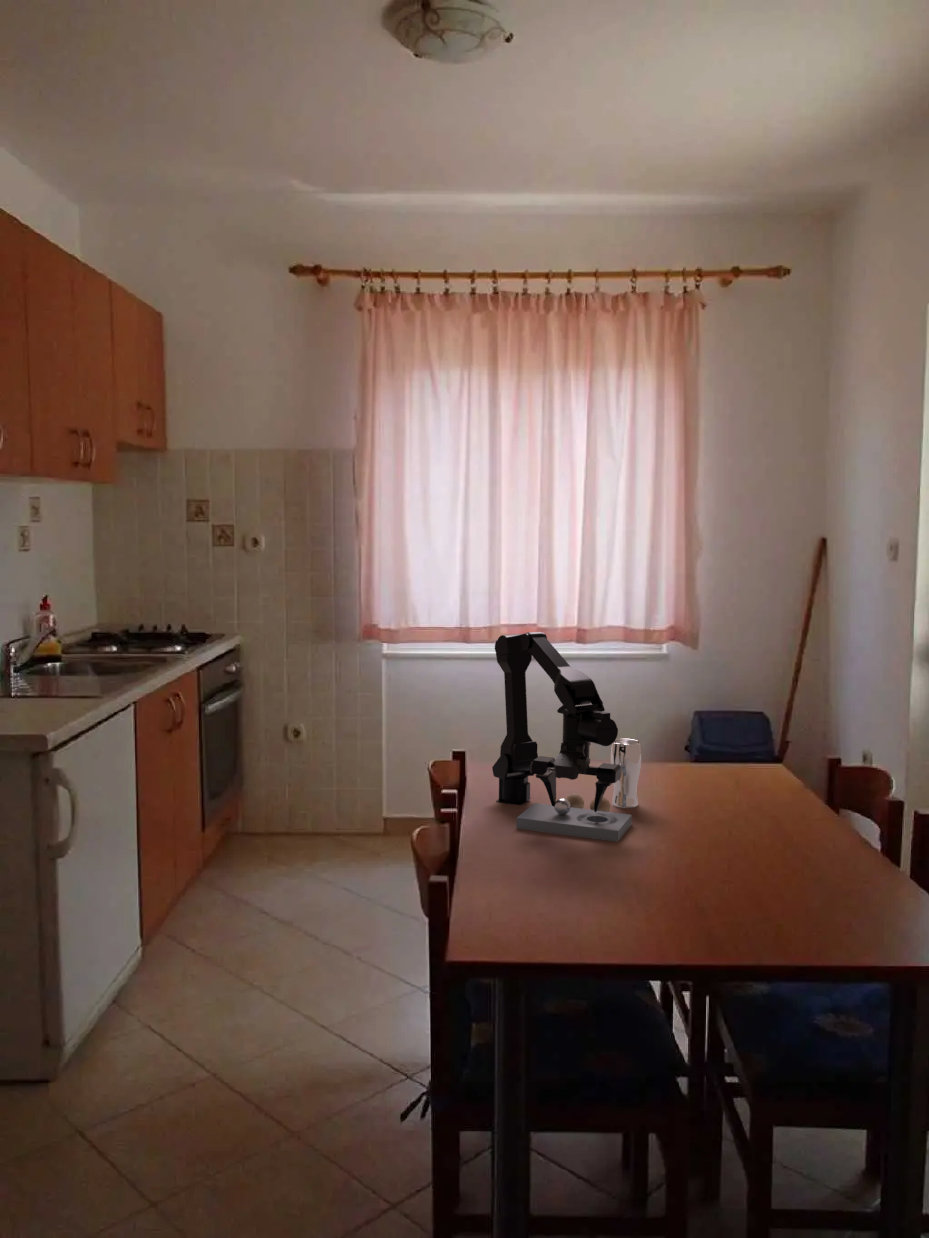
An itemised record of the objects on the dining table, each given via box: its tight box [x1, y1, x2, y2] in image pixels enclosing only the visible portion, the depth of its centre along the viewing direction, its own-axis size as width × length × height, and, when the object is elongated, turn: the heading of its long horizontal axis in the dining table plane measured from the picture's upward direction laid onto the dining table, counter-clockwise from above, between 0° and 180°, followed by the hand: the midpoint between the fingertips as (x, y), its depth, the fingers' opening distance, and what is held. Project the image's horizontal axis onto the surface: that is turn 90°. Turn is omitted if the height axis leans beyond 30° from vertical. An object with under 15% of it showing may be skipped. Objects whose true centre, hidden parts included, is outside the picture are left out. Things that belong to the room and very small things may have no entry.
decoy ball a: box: [564, 792, 585, 809], centre depth 210 cm, size 4×4×4 cm
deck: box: [515, 802, 633, 843], centre depth 200 cm, size 22×12×2 cm, turn 67°
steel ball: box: [554, 797, 571, 815], centre depth 201 cm, size 4×4×4 cm
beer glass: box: [610, 738, 642, 809], centre depth 216 cm, size 7×7×15 cm
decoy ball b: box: [589, 796, 611, 812], centre depth 208 cm, size 4×4×4 cm
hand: (574, 808), depth 200 cm, fingers open, 9 cm apart
